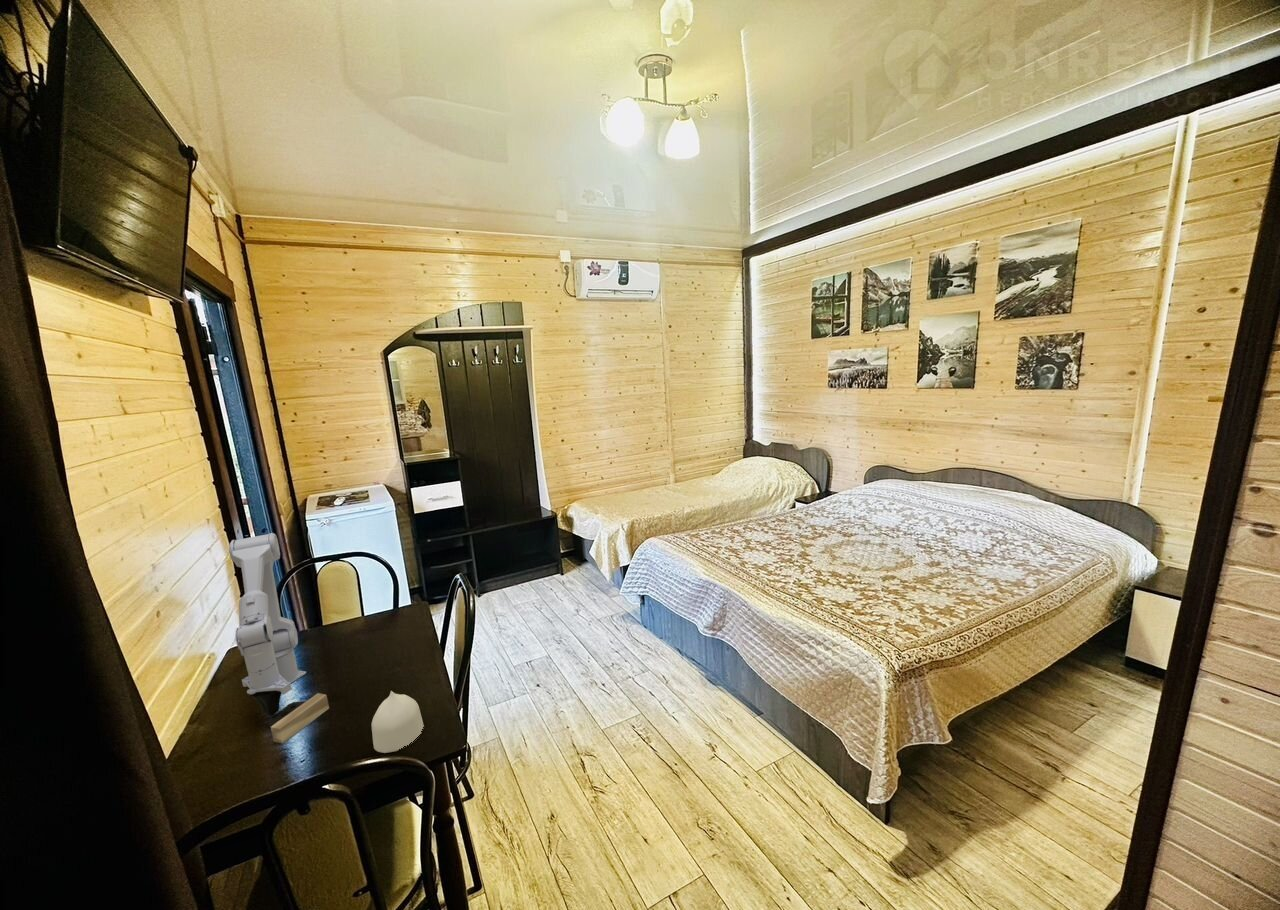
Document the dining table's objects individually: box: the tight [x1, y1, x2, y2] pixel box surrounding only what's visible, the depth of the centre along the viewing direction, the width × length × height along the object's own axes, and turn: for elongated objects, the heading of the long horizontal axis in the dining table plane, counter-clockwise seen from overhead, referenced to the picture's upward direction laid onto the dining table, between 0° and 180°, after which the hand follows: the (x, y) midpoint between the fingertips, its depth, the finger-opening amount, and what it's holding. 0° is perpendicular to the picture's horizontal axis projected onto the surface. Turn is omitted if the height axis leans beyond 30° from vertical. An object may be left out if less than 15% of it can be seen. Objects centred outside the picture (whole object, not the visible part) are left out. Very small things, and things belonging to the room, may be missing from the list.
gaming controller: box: [267, 700, 307, 728], centre depth 117 cm, size 10×5×6 cm
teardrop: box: [371, 690, 425, 754], centre depth 109 cm, size 11×11×12 cm
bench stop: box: [270, 692, 330, 745], centre depth 115 cm, size 3×12×4 cm, turn 163°
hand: (273, 712), depth 118 cm, fingers closed
